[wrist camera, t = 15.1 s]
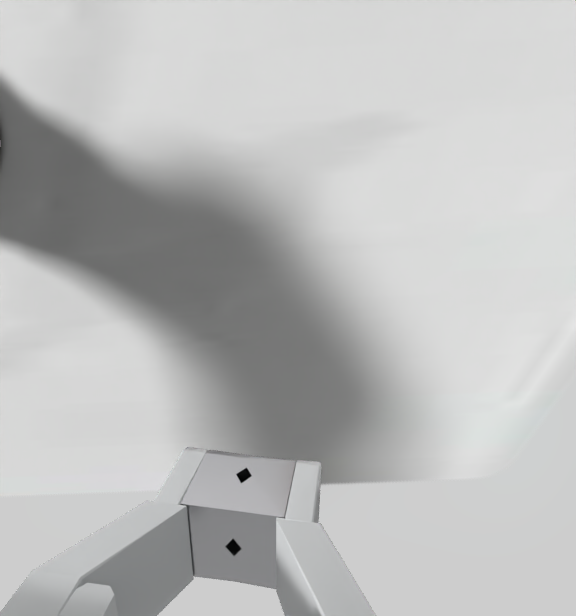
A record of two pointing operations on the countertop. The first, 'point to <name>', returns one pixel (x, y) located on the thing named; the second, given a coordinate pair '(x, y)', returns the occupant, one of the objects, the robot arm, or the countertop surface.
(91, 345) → the countertop surface
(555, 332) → the countertop surface
